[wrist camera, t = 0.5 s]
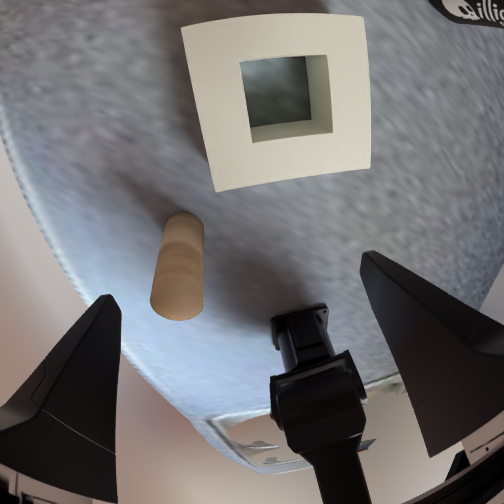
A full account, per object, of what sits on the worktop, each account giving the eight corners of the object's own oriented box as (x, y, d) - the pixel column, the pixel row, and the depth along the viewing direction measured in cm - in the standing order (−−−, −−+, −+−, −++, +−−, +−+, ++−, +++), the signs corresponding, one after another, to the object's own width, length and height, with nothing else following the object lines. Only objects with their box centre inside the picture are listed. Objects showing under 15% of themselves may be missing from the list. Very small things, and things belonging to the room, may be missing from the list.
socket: (345, 149, 20) (370, 168, 17) (214, 169, 20) (215, 192, 16) (336, 23, 14) (363, 17, 10) (187, 36, 13) (180, 27, 10)
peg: (207, 241, 23) (209, 316, 17) (171, 249, 23) (161, 323, 17) (198, 208, 21) (194, 279, 15) (159, 217, 21) (141, 289, 15)
